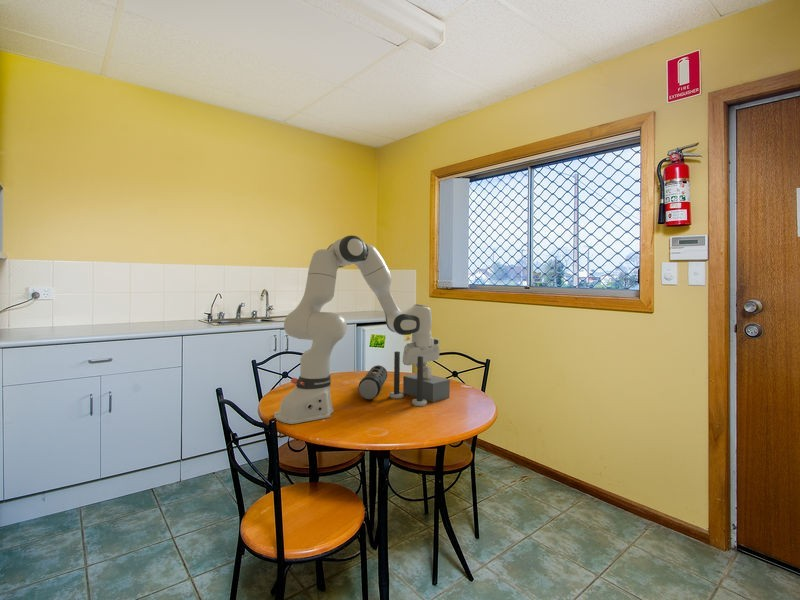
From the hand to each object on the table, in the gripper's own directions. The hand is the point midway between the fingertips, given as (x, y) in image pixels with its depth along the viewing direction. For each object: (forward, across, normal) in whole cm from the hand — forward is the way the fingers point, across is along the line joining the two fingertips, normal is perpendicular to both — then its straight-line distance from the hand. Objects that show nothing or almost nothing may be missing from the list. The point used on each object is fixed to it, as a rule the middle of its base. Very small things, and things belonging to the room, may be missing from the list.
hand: (421, 372), depth 183 cm
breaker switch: (+3, +3, 0) cm, 4 cm away
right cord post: (+11, -8, -7) cm, 15 cm away
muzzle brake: (+11, -12, +18) cm, 24 cm away
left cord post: (+11, -8, +7) cm, 15 cm away
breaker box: (+11, +3, 0) cm, 11 cm away
